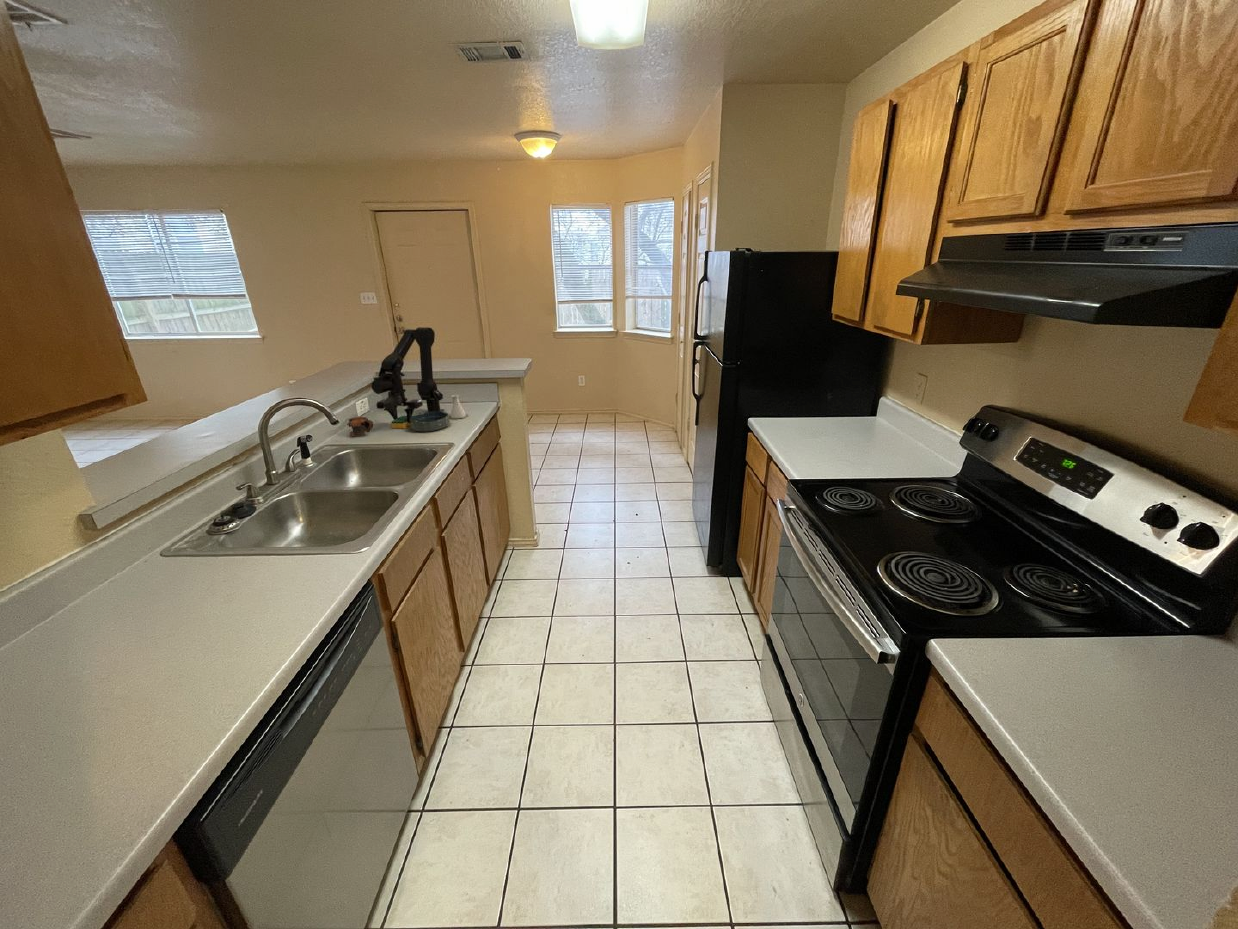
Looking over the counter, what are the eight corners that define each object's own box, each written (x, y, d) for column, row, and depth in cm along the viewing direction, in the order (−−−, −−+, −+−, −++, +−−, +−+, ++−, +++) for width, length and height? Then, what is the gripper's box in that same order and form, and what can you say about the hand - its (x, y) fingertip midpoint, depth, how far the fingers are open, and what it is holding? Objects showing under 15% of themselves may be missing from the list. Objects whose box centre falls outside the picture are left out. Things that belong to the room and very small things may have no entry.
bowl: (422, 420, 230) (420, 411, 228) (456, 421, 228) (454, 411, 226) (404, 432, 215) (402, 422, 214) (440, 432, 213) (438, 422, 212)
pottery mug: (343, 438, 212) (341, 419, 213) (360, 441, 221) (358, 423, 222) (367, 432, 209) (364, 413, 210) (383, 435, 218) (381, 416, 219)
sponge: (403, 421, 230) (401, 415, 229) (414, 421, 229) (413, 415, 228) (392, 428, 222) (391, 421, 220) (404, 428, 221) (403, 421, 220)
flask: (463, 418, 231) (460, 397, 228) (448, 419, 232) (444, 397, 228) (468, 414, 238) (465, 393, 234) (453, 414, 238) (449, 393, 234)
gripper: (365, 393, 213) (373, 428, 219) (407, 393, 210) (414, 428, 216) (380, 386, 223) (387, 420, 229) (419, 386, 221) (426, 420, 227)
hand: (403, 422), depth 225 cm, fingers closed on sponge, 5 cm apart
